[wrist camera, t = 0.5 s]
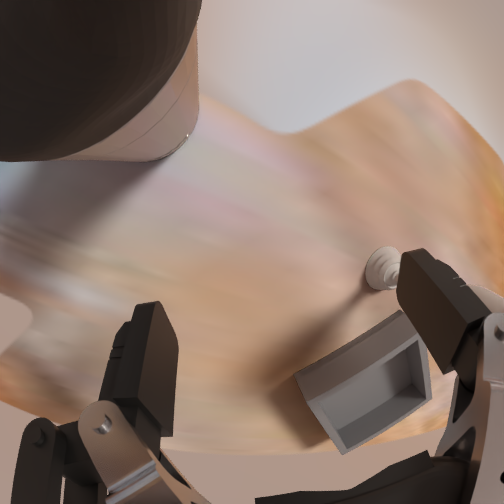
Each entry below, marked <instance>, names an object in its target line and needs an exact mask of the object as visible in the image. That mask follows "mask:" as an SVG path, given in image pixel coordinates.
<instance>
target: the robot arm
mask: <svg viewBox="0 0 504 504" xmlns="http://www.w3.org/2000/svg"><path fill="white" fill-rule="evenodd" d="M201 3H202V0H0V161H3V162H26V161H46V160H104V161H129V162H149V161H154V160H158V159H161V158H163V157H165V156H168V155H170V154H171V153H173V152H174V151H175V150H177V149H178V148H180V147H181V145H182V144H183V143H184V142H185V141H186V140H187V139H188V137H189V136H190V134H191V133H192V131H193V129H194V127H195V124H196V122H197V118H198V112H199V86H198V52H197V50H198V49H197V20H198V16H199V13H200V9H201ZM396 294H397V299H398V302H399V305H400V306H401V308H402V309H403V311H404V312H405V314H406V315H407V317H408V318H409V320H410V321H411V323H412V325H413V326H414V328H415V329H416V331H417V332H418V334H419V335H420V337H421V339H422V340H423V342H424V343H425V345H426V347H427V348H428V350H429V352H430V353H431V355H432V357H433V358H434V360H435V362H436V363H437V365H438V367H439V368H440V370H441V372H442V373H443V375H444V374H447V373H449V372H451V371H453V370H455V371H456V372H457V374H458V375H457V376H456V379H455V384H454V390H453V396H452V402H451V408H450V413H449V418H448V423H447V427H446V430H445V432H444V435H443V437H442V438H441V440H440V442H439V445H438V447H437V450H436V453H435V456H434V457H430V456H429V453H428V451H427V450H426V451H424V452H422V453H419V454H417V455H415V456H412V457H410V458H408V459H405V460H403V461H400V462H398V463H395V464H393V465H390V466H388V467H387V468H385V469H384V470H382V471H381V472H379V473H377V474H376V475H374V476H373V477H371V478H369V479H368V480H366V481H364V482H363V483H361V484H359V485H357V486H356V487H354V488H352V489H349V490H341V491H298V492H293V493H287V494H281V495H275V496H268V497H260V498H255V504H504V313H500V312H497V313H492V312H491V311H490V310H489V309H488V308H487V306H486V305H485V304H484V303H483V302H482V301H481V299H480V298H479V297H478V296H477V295H476V294H475V293H474V292H473V290H472V289H471V288H470V287H469V286H468V285H467V286H466V283H465V282H464V281H463V279H462V278H459V275H458V274H457V273H456V272H455V271H454V270H453V269H452V268H451V267H450V266H449V265H447V264H445V263H443V262H441V261H440V260H438V259H437V260H435V259H434V258H433V257H432V256H431V255H430V253H429V252H428V251H427V250H425V249H424V248H421V249H416V250H412V251H408V252H404V253H403V254H402V256H401V260H400V268H399V275H398V281H397V288H396ZM112 347H113V349H112V350H111V353H110V357H109V358H110V360H108V364H107V368H106V372H105V375H104V379H103V383H102V387H101V391H100V395H99V399H98V401H97V402H94V403H92V404H90V405H89V406H88V407H87V408H86V409H85V410H84V411H83V412H82V414H81V415H80V418H79V420H78V421H75V422H71V423H68V424H64V425H60V426H56V425H54V424H53V423H52V422H51V421H50V420H48V419H46V418H36V419H34V420H33V421H31V422H30V423H29V424H28V425H27V427H26V428H25V430H24V432H23V435H22V439H21V444H20V449H19V453H18V458H17V463H16V469H15V475H14V481H13V488H12V497H11V504H60V496H61V485H62V476H63V477H64V478H65V489H64V500H63V504H211V503H210V502H209V501H208V500H207V499H206V498H204V497H203V496H202V495H201V494H200V493H199V492H197V490H196V489H194V487H193V486H192V485H191V484H190V483H189V482H188V481H187V479H186V478H185V477H184V476H183V475H182V474H181V473H180V471H179V470H178V469H177V468H176V466H175V465H174V464H173V463H172V462H171V460H170V459H169V458H168V457H167V455H166V454H165V453H164V452H163V450H162V449H161V448H160V440H161V437H173V421H174V403H175V389H176V375H177V363H178V352H179V348H178V341H177V337H176V334H175V332H174V330H173V327H172V325H171V323H170V321H169V319H168V317H167V315H166V312H165V310H164V308H163V306H162V304H161V303H160V302H159V301H155V302H149V303H143V304H137V305H136V306H135V309H134V312H133V316H132V319H131V321H129V322H125V323H124V324H123V325H122V327H121V328H120V329H119V331H118V332H117V334H116V336H115V340H114V343H113V346H112ZM107 489H108V492H109V494H108V495H107Z"/></svg>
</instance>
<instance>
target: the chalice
mask: <svg viewBox="0 0 504 504" xmlns="http://www.w3.org/2000/svg"><path fill="white" fill-rule="evenodd" d="M400 260H401V255H400V253H399V251H398V250H396V249H395V248H394V247H390V246H386V247H382V248H380V249H378V250H377V251H376V252H375V253H373V254H372V256H371V257H370V259H369V260H368V263H367V266H366V272H365V276H366V280H367V283H368V284H369V286H370V287H372V288H373V289H377V290H393V289H395V288H397V281H398V275H399V268H400ZM466 286H467V284H466ZM468 286H469V287H470V288H471V289H472V290H473V292H474V293H475V294H476V295H477V296H478V297H479V298H480V299H481V301H482V302H483V303H484V304H485V305H486V306H487V308H488V309H489V310H490V311H491V312H492V313H497V312H500V313H504V298H503V297H501V296H500V295H498V294H496V293H494V292H492V291H491V290H489V289H487V288H485V287H483V286H480V285H468Z"/></svg>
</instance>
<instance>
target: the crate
mask: <svg viewBox="0 0 504 504" xmlns="http://www.w3.org/2000/svg"><path fill="white" fill-rule="evenodd" d="M294 377H295V379H296V381H297V383H298V385H299V388H300V390H301V392H302V394H303V396H304V399H305V401H306V403H307V404H308V406H309V407H310V409H311V410H312V412H313V413H314V415H315V416H316V418H317V419H318V421H319V422H320V424H321V425H322V427H323V428H324V430H325V431H326V433H327V434H328V435H329V437H330V438H331V440H332V441H333V443H334V444H335V446H336V447H337V449H338V450H339V451H340V453H341V454H342V455H344V454H346V453H348V452H349V451H351V450H353V449H355V448H357V447H359V446H361V445H362V444H364V443H366V442H368V441H369V440H371V439H373V438H374V437H376V436H378V435H379V434H381V433H383V432H384V431H386V430H387V429H389V428H391V427H392V426H394V425H395V424H397V423H398V422H400V421H401V420H403V419H404V418H406V417H407V416H409V415H410V414H412V413H413V412H414V411H416V410H417V409H419V408H420V407H421V406H423V405H424V404H425V403H427V402H428V401H429V400H431V399H432V391H431V380H430V371H429V363H428V355H427V348H426V345H425V343H424V342H423V340H422V339H421V337H420V335H419V334H418V332H417V331H416V329H415V328H414V326H413V325H412V323H411V321H410V320H409V318H408V317H407V315H406V314H405V313H404V312H402V311H401V310H398V311H397V312H395V313H394V314H393V315H391V316H390V317H388V318H387V319H385V320H384V321H382V322H381V323H379V324H378V325H376V326H375V327H373V328H372V329H370V330H368V331H367V332H365V333H364V334H362V335H361V336H359V337H357V338H356V339H354V340H353V341H351V342H349V343H348V344H346V345H344V346H343V347H341V348H339V349H338V350H336V351H334V352H333V353H331V354H329V355H327V356H326V357H324V358H322V359H320V360H319V361H317V362H315V363H313V364H311V365H310V366H308V367H306V368H304V369H302V370H300V371H299V372H297V373H295V374H294Z"/></svg>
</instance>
